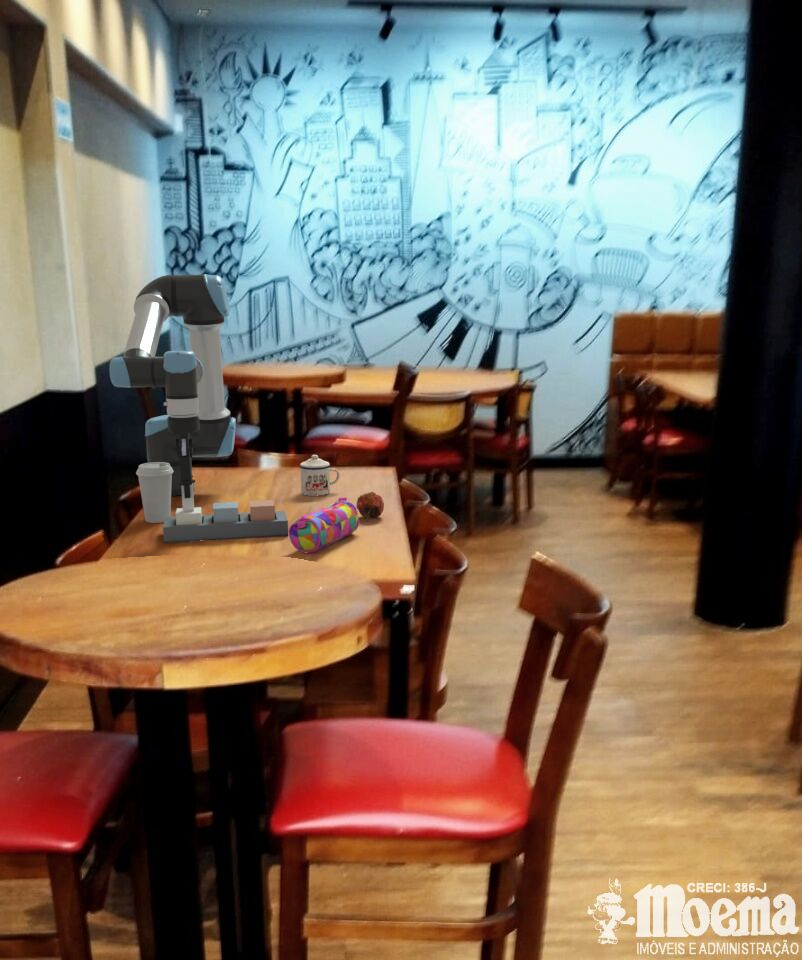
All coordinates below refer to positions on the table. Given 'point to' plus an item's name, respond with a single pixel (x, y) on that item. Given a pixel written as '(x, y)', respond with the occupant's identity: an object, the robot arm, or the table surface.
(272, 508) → the terracotta key
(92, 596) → the table surface
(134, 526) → the table surface
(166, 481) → the coffee cup
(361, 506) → the pomegranate
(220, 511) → the slate key
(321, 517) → the pencil case
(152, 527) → the table surface
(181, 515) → the ivory key
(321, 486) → the teacup with lid
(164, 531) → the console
